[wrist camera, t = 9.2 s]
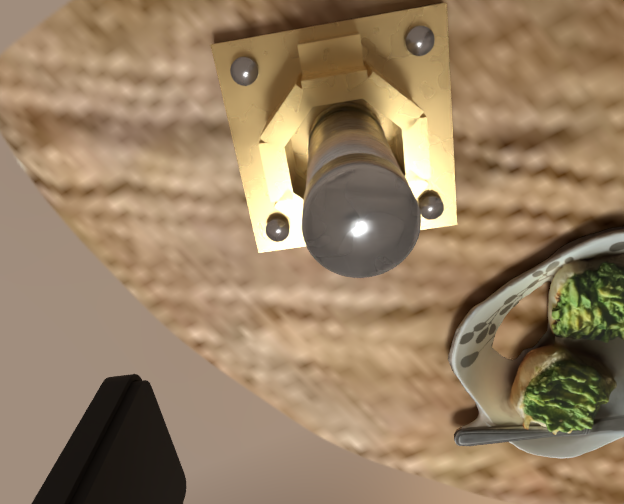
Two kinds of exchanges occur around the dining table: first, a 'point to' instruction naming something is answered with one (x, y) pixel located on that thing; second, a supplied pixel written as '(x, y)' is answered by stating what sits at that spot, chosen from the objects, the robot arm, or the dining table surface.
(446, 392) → the dining table surface
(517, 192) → the dining table surface
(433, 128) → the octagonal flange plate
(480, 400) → the avocado toast plate
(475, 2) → the dining table surface
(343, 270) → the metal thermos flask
